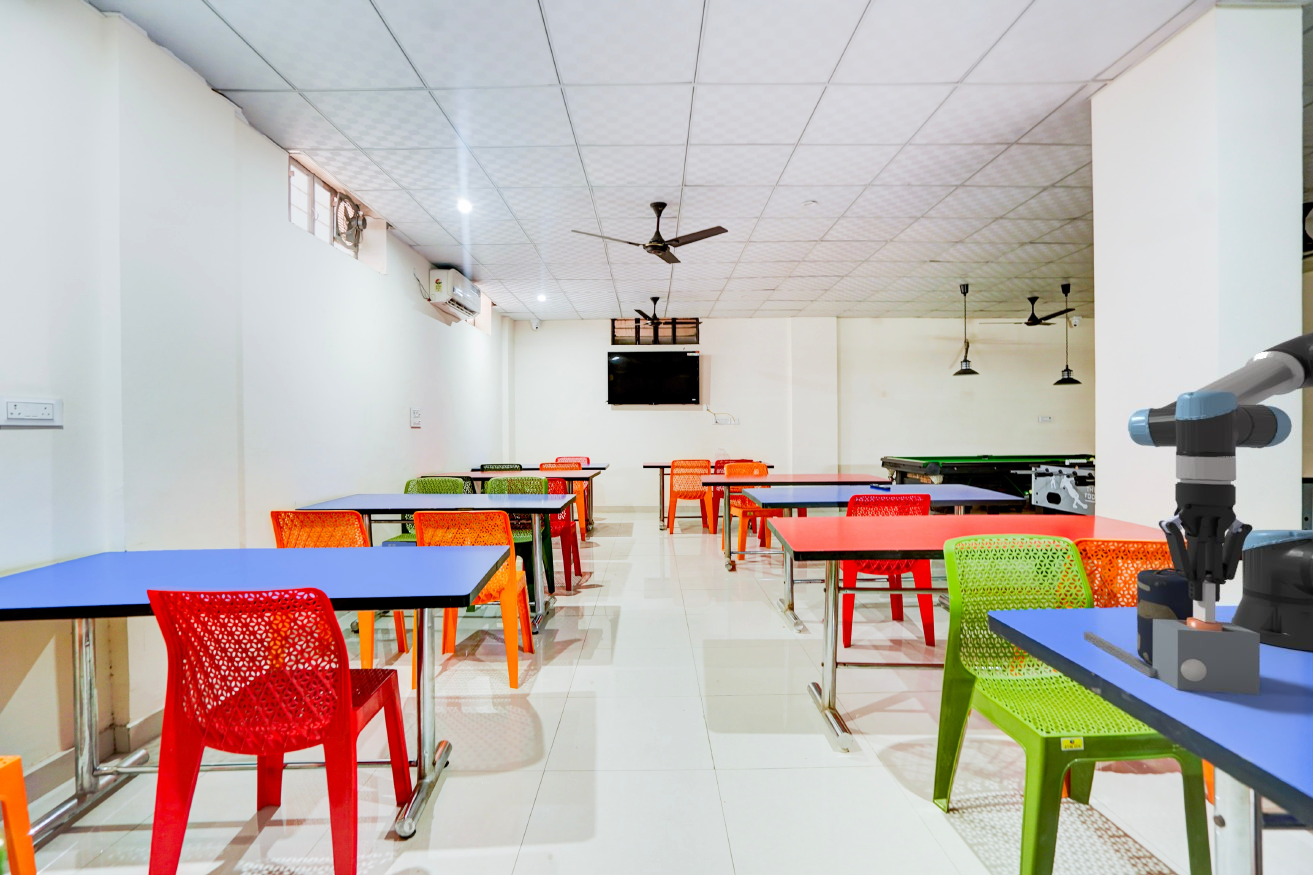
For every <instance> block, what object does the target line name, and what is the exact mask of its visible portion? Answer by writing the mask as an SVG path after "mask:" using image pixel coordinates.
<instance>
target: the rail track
mask: <svg viewBox="0 0 1313 875" xmlns="http://www.w3.org/2000/svg"><path fill="white" fill-rule="evenodd" d="M1083 639H1084V640H1085V641H1087V642H1088V643H1090V644H1092V645H1094V646H1096V647H1097V648H1099V649H1101V650H1102V651H1104V652H1106V653H1108V654H1109V655H1111V656H1113V657H1114V658H1116V659H1117V660H1119V661H1121V662H1123V663H1124V664H1126V665H1128V666H1130V667H1132V668H1133V669H1135V670H1136V671H1138V672H1140V673H1142V674H1144V675H1145V676H1147V677H1149V678H1156V679H1158V678H1157V669H1156V668H1154V667H1153V665H1150V663H1148V662H1146V661H1145V660H1143V659H1142V660H1141V658H1138V657H1136V656H1134V655H1133V654H1131V653H1130V652H1127V651H1125V650H1123V649H1122V648H1120V647H1119V646H1117V645H1114V644H1113V643H1111V642H1109V640H1108V641H1107V640H1106V639H1104V638H1102V637H1100V636H1098V635H1096V634H1095V633H1093V632H1091V631H1083Z"/></svg>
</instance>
